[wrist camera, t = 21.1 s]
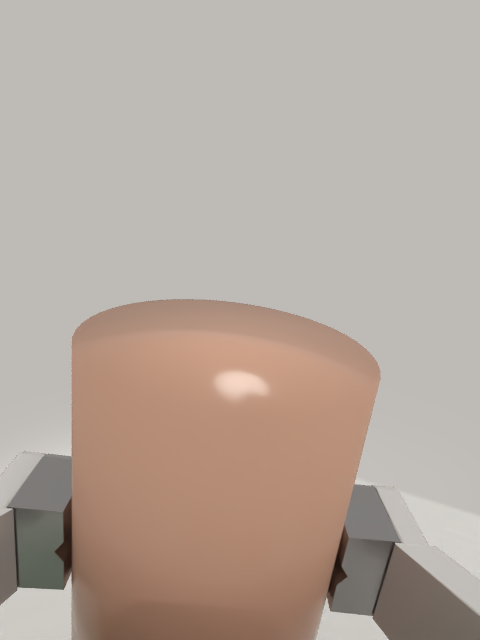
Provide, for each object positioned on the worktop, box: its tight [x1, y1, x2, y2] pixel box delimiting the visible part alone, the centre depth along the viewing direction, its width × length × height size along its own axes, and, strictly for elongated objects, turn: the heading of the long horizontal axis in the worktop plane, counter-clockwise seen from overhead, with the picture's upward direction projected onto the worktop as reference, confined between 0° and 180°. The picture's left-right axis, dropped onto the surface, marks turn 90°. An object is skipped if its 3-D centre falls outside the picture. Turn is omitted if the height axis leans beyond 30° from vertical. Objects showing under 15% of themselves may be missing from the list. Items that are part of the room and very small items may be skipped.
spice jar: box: [72, 299, 380, 640], centre depth 8 cm, size 5×5×10 cm
